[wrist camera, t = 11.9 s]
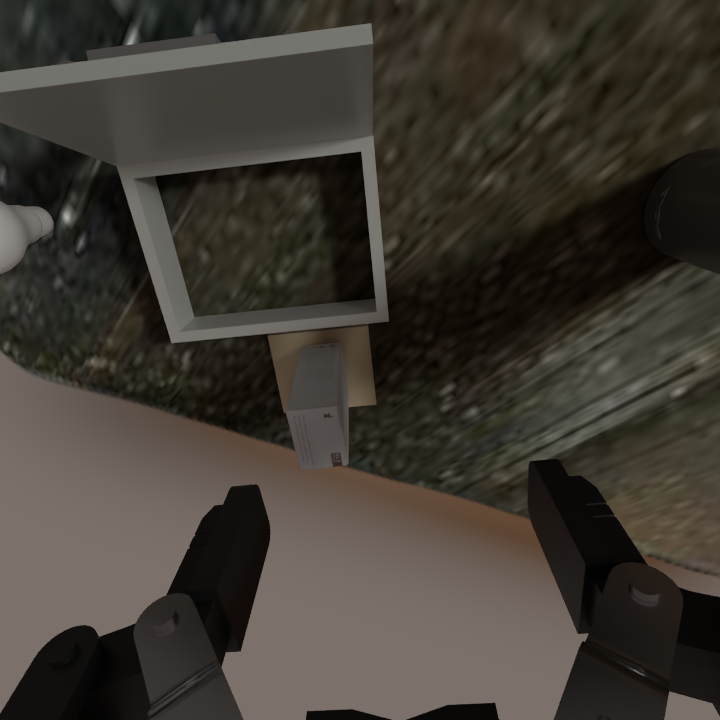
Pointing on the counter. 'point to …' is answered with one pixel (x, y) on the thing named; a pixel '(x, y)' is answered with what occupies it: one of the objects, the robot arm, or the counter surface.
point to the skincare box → (319, 407)
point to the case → (190, 328)
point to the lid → (199, 96)
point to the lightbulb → (20, 231)
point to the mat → (350, 337)
